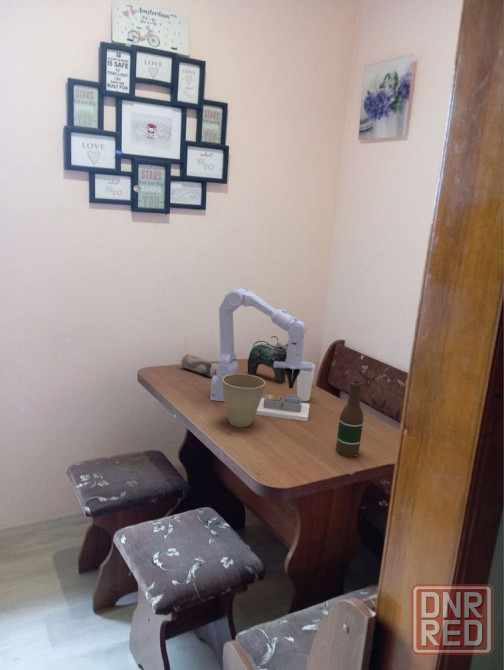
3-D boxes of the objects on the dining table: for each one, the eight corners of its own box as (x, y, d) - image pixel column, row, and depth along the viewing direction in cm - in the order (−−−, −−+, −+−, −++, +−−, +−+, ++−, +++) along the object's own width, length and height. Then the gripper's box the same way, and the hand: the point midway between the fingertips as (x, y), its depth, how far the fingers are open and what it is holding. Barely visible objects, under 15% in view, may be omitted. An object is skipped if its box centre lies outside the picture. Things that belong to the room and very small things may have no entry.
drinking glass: (310, 403, 214) (314, 367, 210) (293, 401, 215) (297, 365, 212) (311, 397, 220) (315, 363, 217) (295, 395, 222) (299, 360, 218)
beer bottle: (332, 446, 178) (341, 377, 172) (355, 447, 178) (365, 378, 173) (338, 457, 170) (347, 385, 164) (362, 458, 171) (372, 386, 165)
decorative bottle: (179, 369, 243) (180, 355, 241) (190, 366, 249) (191, 352, 247) (223, 384, 228) (224, 369, 227) (234, 380, 234) (235, 365, 233)
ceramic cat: (289, 382, 237) (293, 338, 232) (282, 386, 232) (286, 341, 227) (251, 372, 247) (255, 329, 242) (243, 375, 242) (247, 332, 237)
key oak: (267, 405, 202) (267, 398, 202) (268, 401, 207) (269, 394, 206) (278, 406, 202) (279, 400, 201) (279, 402, 206) (280, 396, 205)
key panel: (253, 414, 199) (254, 402, 198) (258, 400, 212) (259, 390, 211) (307, 421, 196) (308, 409, 195) (309, 407, 210) (310, 396, 209)
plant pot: (230, 434, 180) (233, 389, 176) (212, 417, 193) (215, 375, 189) (269, 429, 187) (273, 385, 183) (249, 412, 200) (253, 372, 196)
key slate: (285, 404, 201) (286, 398, 201) (286, 400, 205) (287, 394, 205) (297, 405, 201) (298, 399, 200) (298, 401, 205) (299, 395, 204)
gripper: (274, 353, 196) (270, 388, 200) (313, 358, 194) (309, 393, 198) (276, 348, 203) (272, 382, 206) (314, 353, 201) (310, 387, 205)
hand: (291, 387), depth 203 cm, fingers closed
